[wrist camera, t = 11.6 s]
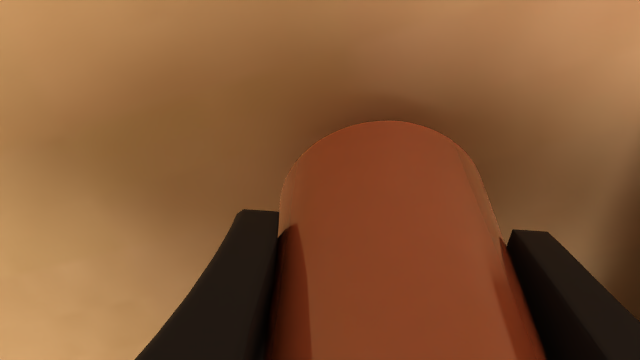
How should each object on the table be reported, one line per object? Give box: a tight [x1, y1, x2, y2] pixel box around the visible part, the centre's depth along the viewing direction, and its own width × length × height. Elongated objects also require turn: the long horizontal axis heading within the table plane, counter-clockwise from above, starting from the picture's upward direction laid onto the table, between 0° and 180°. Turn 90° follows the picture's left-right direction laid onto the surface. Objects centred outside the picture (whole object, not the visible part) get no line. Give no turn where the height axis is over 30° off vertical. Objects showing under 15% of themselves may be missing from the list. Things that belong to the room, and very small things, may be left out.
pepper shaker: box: [263, 120, 548, 360], centre depth 9 cm, size 4×4×6 cm
